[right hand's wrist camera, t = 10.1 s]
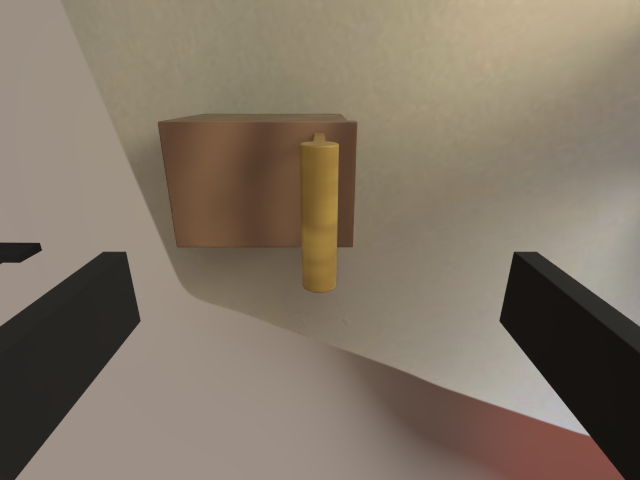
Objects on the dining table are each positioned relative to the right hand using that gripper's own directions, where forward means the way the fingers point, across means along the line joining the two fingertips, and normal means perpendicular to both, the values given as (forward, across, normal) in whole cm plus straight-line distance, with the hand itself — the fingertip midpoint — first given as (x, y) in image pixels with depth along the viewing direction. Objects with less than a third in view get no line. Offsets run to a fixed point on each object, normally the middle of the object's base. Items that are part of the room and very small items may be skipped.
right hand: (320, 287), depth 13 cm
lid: (+15, -4, 0) cm, 16 cm away
